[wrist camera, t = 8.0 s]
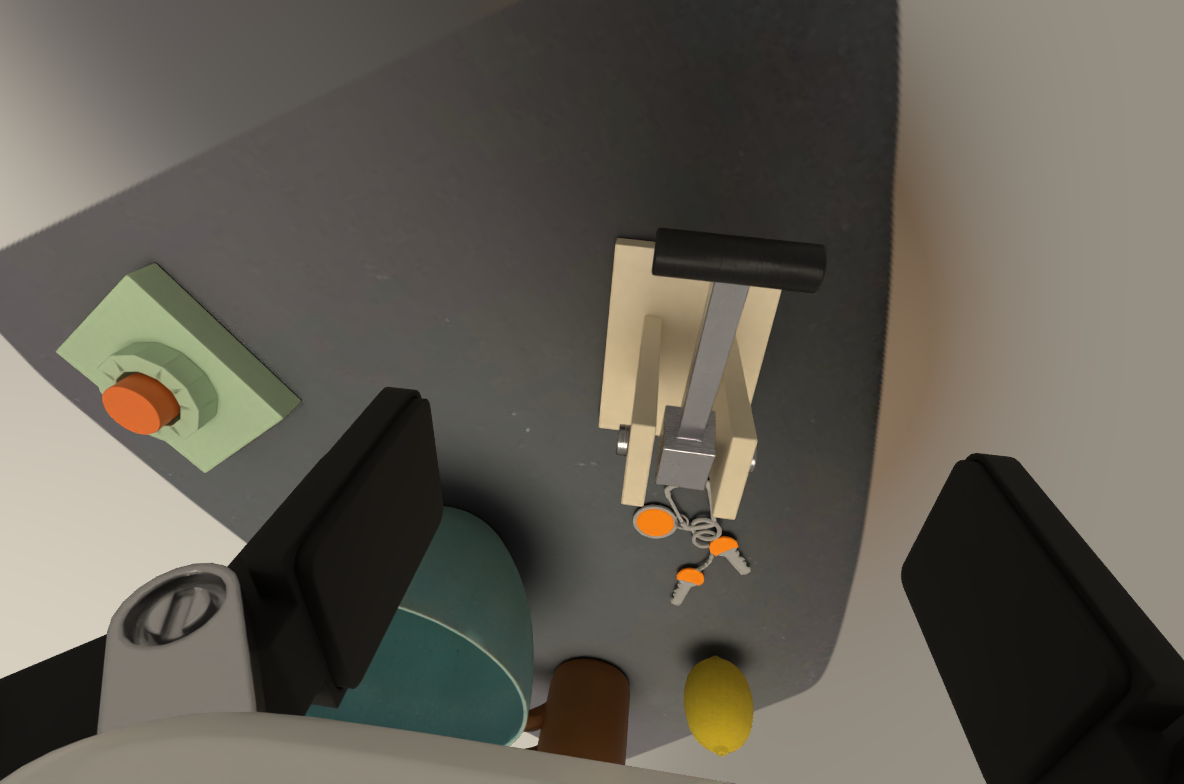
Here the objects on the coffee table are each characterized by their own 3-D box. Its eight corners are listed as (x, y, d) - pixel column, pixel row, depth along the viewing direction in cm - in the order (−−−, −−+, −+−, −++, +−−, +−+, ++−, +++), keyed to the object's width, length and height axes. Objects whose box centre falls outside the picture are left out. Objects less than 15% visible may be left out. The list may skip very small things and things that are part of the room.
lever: (659, 210, 17) (654, 254, 16) (822, 226, 17) (833, 274, 15) (629, 437, 26) (624, 480, 25) (734, 451, 26) (735, 495, 24)
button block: (84, 337, 38) (28, 365, 35) (155, 262, 34) (99, 285, 31) (225, 455, 43) (186, 490, 40) (302, 401, 39) (266, 434, 36)
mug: (506, 683, 55) (477, 789, 47) (509, 638, 51) (479, 747, 43) (623, 707, 55) (614, 819, 47) (637, 664, 50) (629, 779, 43)
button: (115, 388, 36) (91, 402, 34) (142, 363, 34) (118, 377, 33) (163, 427, 37) (142, 443, 36) (191, 404, 36) (170, 420, 34)
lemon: (706, 681, 50) (711, 778, 44) (670, 649, 49) (670, 745, 42) (760, 664, 48) (773, 764, 41) (724, 629, 46) (732, 728, 39)
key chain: (619, 488, 39) (618, 496, 38) (722, 470, 37) (723, 478, 36) (667, 603, 45) (667, 612, 44) (758, 592, 43) (759, 602, 42)
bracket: (617, 237, 30) (587, 332, 20) (785, 255, 29) (841, 362, 19) (600, 417, 36) (572, 556, 26) (737, 435, 36) (761, 584, 26)
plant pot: (480, 639, 52) (431, 787, 41) (308, 536, 47) (204, 673, 36) (608, 551, 43) (586, 709, 33) (414, 412, 38) (317, 547, 28)
